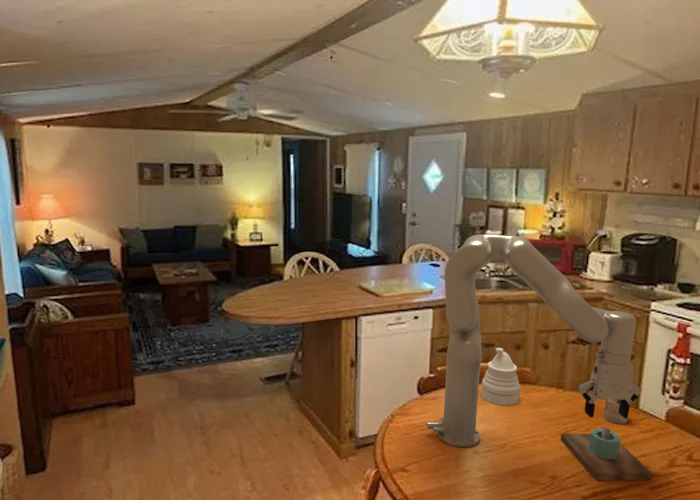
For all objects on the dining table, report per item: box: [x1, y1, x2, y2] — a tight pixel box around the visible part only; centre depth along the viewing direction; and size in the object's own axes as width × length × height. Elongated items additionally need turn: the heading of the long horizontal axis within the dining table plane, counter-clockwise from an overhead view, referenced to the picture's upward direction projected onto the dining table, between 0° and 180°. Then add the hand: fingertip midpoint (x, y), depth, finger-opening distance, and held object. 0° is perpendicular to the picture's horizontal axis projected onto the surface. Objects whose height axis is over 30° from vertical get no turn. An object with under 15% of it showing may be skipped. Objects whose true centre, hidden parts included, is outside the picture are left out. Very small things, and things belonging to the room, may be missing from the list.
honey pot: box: [480, 347, 521, 406], centre depth 182 cm, size 13×13×18 cm
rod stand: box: [560, 426, 653, 481], centre depth 145 cm, size 15×20×9 cm
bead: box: [589, 428, 622, 459], centre depth 145 cm, size 7×7×5 cm
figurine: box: [603, 399, 629, 425], centre depth 168 cm, size 7×7×12 cm
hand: (605, 415), depth 144 cm, fingers open, 9 cm apart
